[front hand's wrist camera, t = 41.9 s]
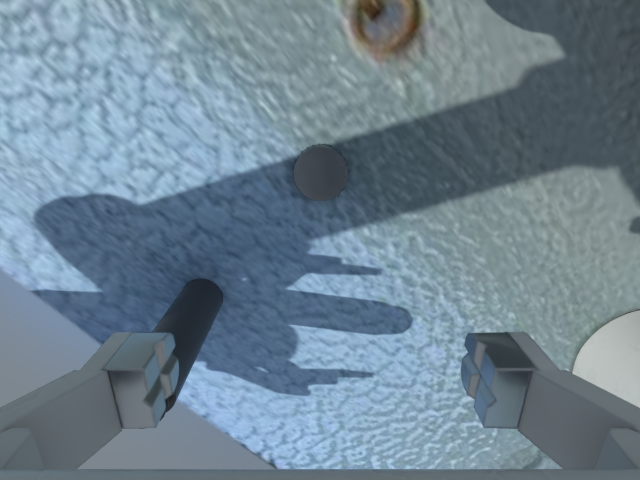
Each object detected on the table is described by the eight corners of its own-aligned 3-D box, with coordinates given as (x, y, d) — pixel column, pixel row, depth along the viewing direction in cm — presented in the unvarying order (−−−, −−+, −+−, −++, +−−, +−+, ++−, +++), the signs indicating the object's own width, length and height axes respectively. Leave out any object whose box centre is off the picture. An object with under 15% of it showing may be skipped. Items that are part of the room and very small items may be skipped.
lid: (289, 148, 35) (287, 151, 33) (343, 139, 35) (344, 141, 33) (299, 201, 37) (298, 205, 35) (350, 192, 36) (352, 196, 35)
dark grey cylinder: (229, 306, 41) (179, 423, 26) (194, 318, 42) (125, 440, 27) (211, 273, 40) (147, 377, 25) (175, 286, 40) (91, 395, 25)
